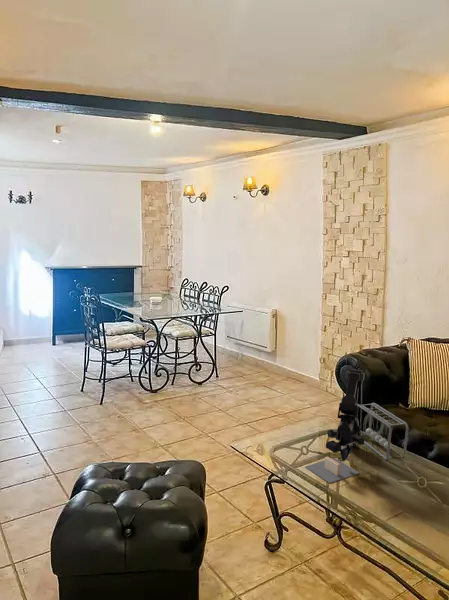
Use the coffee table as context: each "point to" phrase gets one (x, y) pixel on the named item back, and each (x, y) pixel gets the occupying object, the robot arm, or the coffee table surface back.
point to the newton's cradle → (378, 437)
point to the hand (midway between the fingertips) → (343, 460)
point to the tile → (332, 466)
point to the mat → (329, 476)
